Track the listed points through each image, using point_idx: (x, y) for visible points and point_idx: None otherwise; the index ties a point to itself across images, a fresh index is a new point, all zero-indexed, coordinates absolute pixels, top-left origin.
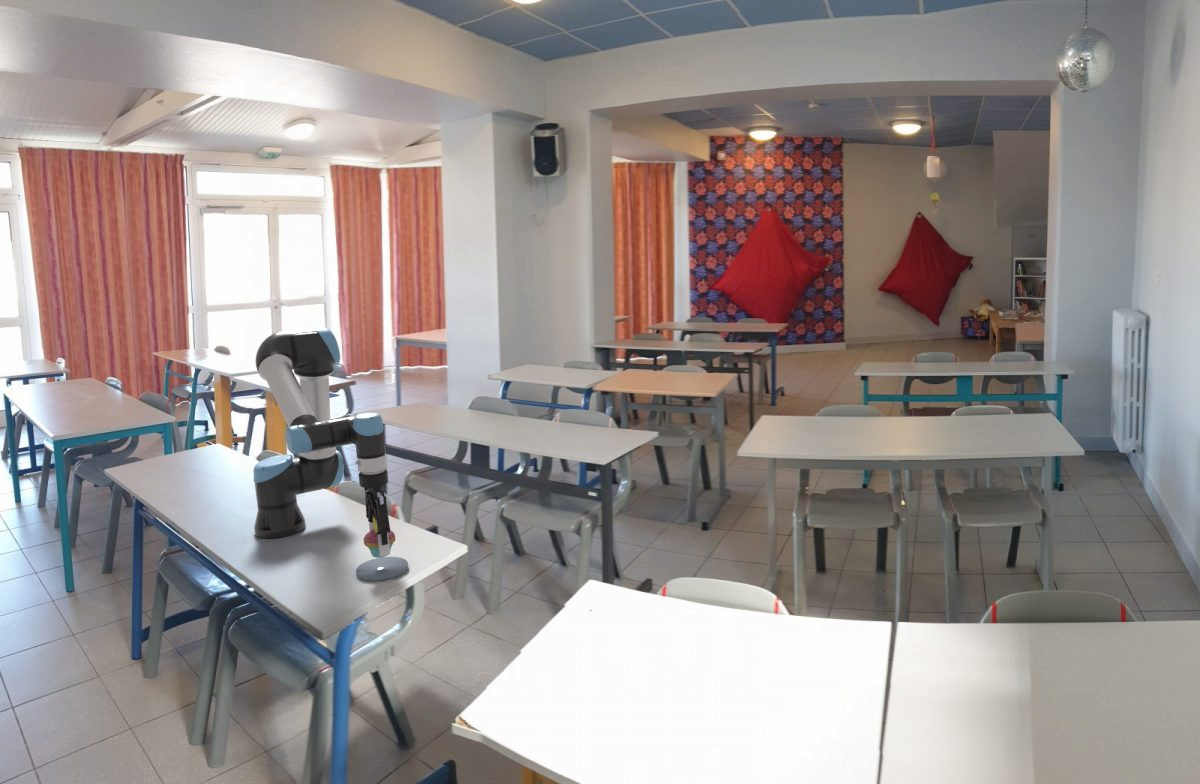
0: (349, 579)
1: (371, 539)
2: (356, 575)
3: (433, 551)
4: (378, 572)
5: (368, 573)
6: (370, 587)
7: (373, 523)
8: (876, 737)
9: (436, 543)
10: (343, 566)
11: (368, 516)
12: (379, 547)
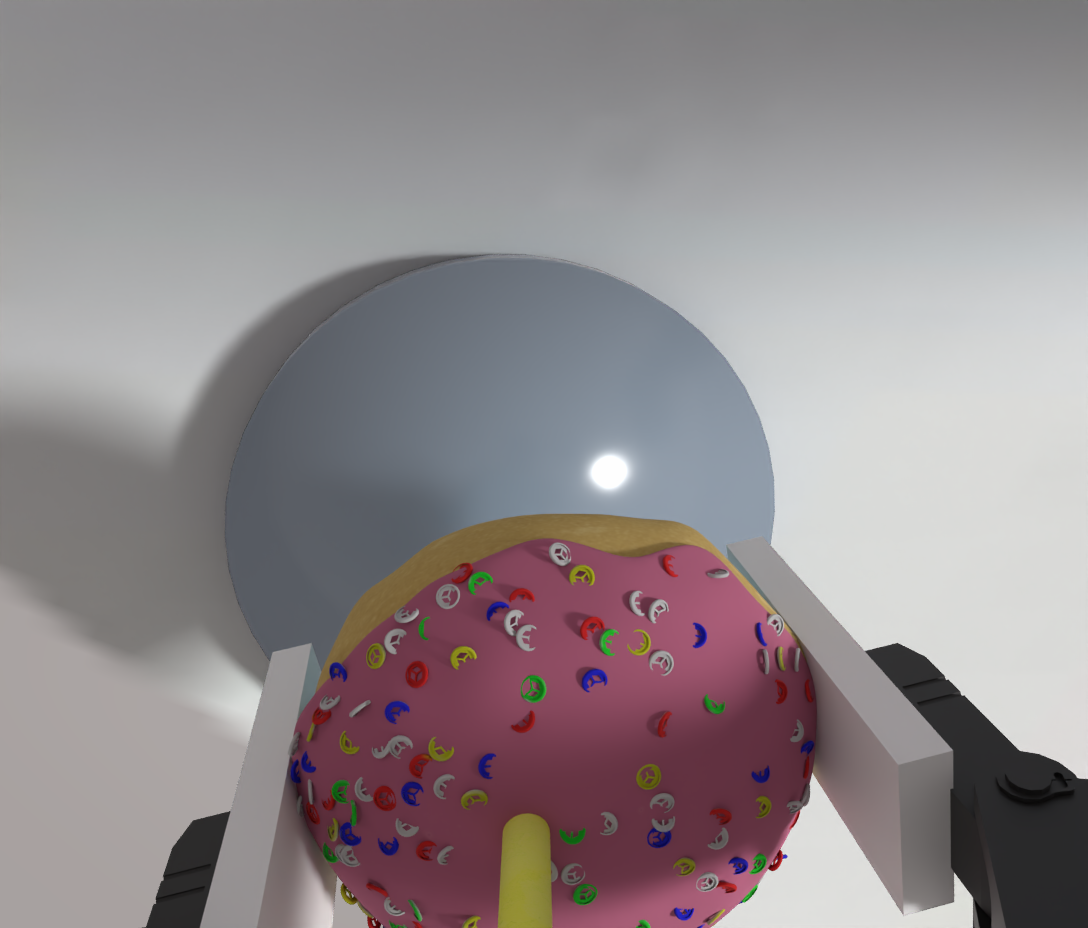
0: (419, 171)
1: (356, 709)
2: (475, 257)
3: (750, 908)
4: (372, 502)
5: (384, 399)
6: (109, 395)
7: (897, 822)
8: None
9: (902, 925)
10: (830, 116)
11: (1080, 862)
12: (253, 739)
